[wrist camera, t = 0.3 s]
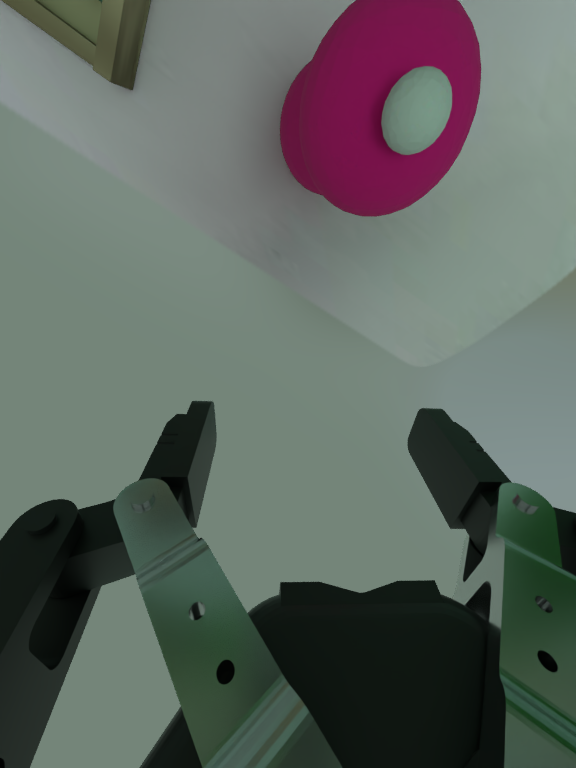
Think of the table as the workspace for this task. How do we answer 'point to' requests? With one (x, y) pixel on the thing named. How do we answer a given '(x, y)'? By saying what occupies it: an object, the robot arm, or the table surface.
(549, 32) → the table surface
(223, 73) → the table surface
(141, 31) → the pusher lane
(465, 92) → the pepper mill
